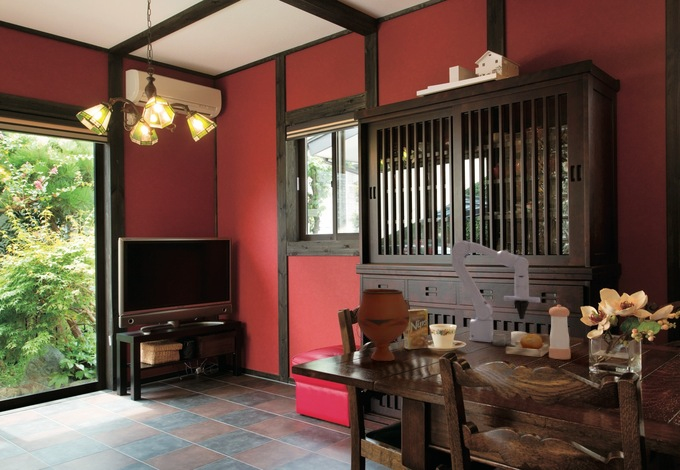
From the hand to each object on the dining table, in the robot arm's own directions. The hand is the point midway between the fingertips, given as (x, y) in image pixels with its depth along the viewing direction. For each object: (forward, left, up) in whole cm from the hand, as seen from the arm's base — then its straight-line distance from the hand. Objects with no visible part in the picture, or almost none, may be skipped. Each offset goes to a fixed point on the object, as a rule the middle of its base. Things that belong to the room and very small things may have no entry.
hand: (521, 318), depth 227 cm
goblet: (-35, -57, -10) cm, 68 cm away
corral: (+7, -18, -10) cm, 22 cm away
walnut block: (+9, -6, -10) cm, 15 cm away
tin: (-7, -9, -10) cm, 15 cm away
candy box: (-33, -33, -10) cm, 48 cm away
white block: (0, -5, -10) cm, 11 cm away
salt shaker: (+19, -22, -10) cm, 31 cm away
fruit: (+8, -18, -10) cm, 22 cm away
